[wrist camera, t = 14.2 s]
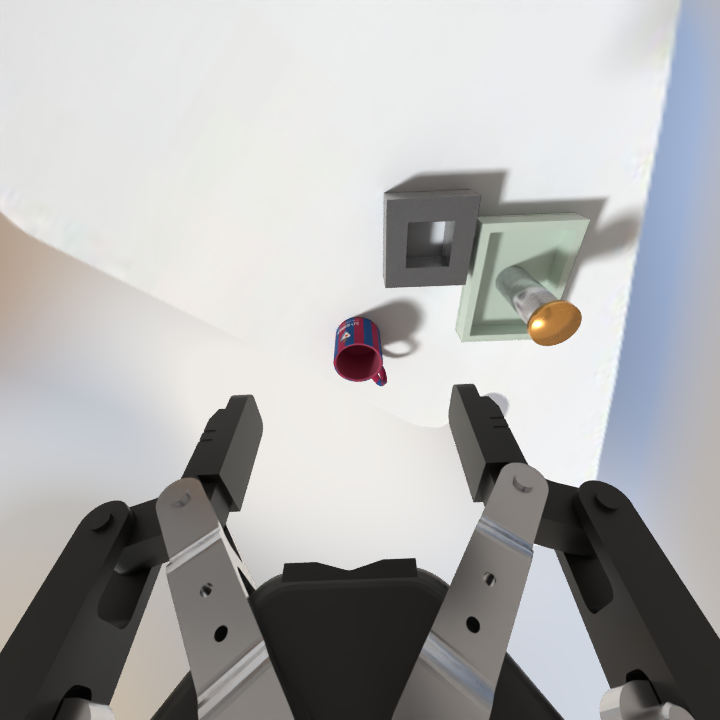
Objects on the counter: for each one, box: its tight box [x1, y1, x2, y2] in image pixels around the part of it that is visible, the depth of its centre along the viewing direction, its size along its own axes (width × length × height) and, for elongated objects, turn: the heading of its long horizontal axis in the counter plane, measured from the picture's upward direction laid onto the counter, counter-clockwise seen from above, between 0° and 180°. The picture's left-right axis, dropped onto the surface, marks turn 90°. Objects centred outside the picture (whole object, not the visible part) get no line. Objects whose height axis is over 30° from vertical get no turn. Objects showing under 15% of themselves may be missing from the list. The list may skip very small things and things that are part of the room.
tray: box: [455, 213, 590, 342], centre depth 42 cm, size 16×12×3 cm
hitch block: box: [383, 189, 481, 288], centre depth 38 cm, size 10×10×4 cm
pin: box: [495, 266, 582, 346], centre depth 38 cm, size 5×5×12 cm
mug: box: [334, 317, 387, 386], centre depth 47 cm, size 7×10×7 cm
